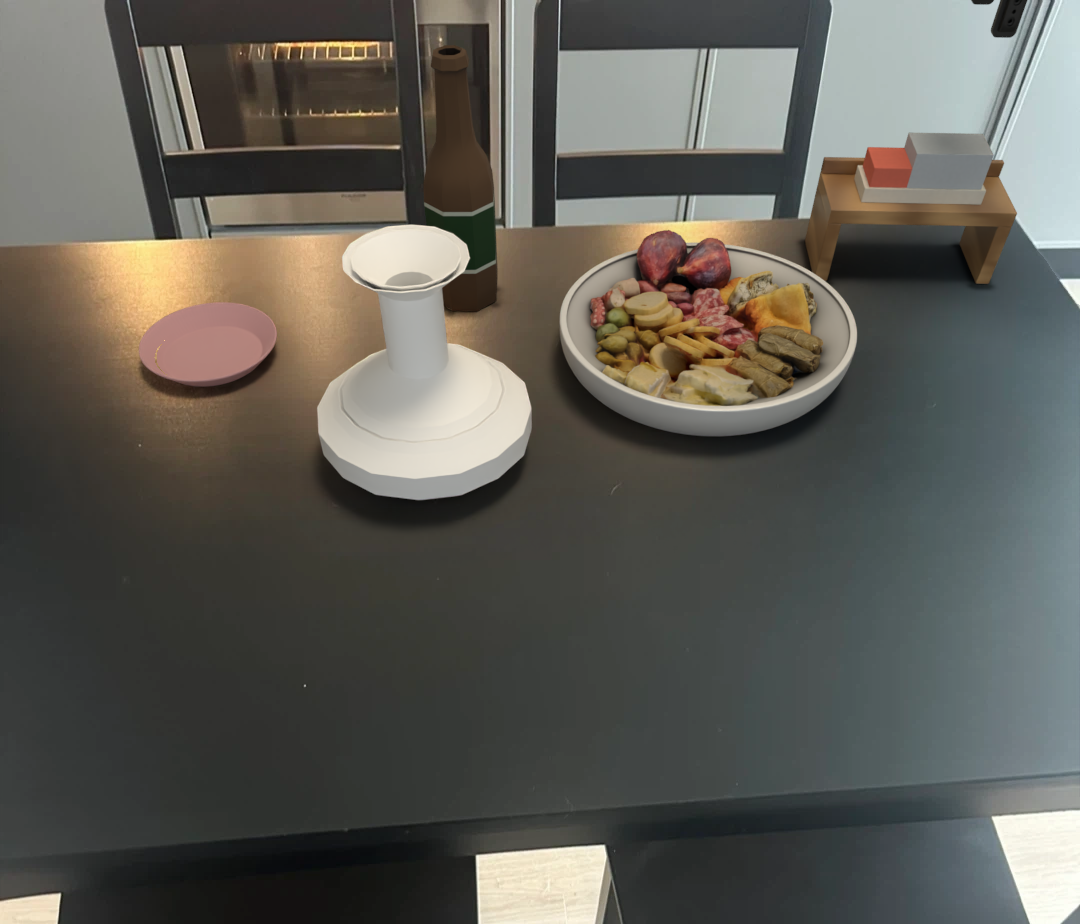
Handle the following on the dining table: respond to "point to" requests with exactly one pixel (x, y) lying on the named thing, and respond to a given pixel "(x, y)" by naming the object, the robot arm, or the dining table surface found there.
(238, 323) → the plate
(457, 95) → the beer bottle
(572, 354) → the bowl
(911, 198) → the stepped block with orange
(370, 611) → the dining table surface
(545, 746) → the dining table surface
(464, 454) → the candle holder
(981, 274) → the shoe shelf
